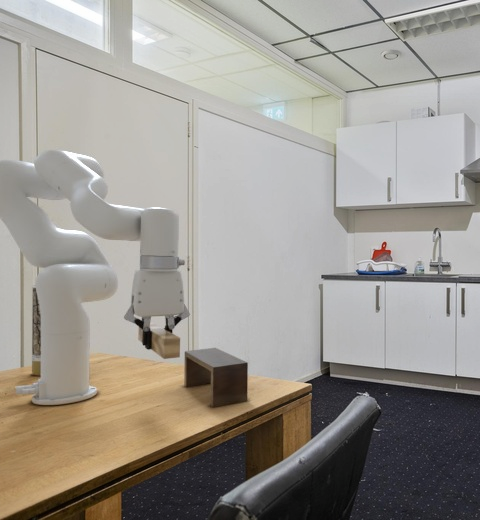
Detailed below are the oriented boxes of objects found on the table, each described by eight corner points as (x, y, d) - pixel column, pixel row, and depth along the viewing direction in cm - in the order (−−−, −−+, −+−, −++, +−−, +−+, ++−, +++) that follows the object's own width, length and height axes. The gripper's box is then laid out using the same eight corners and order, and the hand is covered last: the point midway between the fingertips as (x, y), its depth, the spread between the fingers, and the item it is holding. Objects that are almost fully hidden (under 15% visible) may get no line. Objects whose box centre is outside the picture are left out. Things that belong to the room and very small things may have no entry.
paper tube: (45, 377, 128) (46, 286, 128) (25, 375, 129) (26, 285, 129) (67, 371, 135) (68, 284, 134) (48, 369, 136) (48, 284, 136)
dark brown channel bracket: (212, 407, 104) (213, 367, 104) (184, 385, 121) (184, 351, 121) (247, 400, 109) (247, 362, 109) (215, 380, 126) (215, 347, 126)
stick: (179, 357, 94) (180, 337, 94) (163, 359, 92) (164, 339, 92) (152, 338, 113) (152, 322, 113) (138, 339, 111) (138, 323, 111)
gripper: (192, 264, 110) (190, 341, 111) (113, 263, 100) (111, 348, 100) (202, 265, 105) (200, 346, 105) (119, 264, 94) (117, 355, 95)
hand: (157, 346), depth 103 cm, fingers closed on stick, 3 cm apart
